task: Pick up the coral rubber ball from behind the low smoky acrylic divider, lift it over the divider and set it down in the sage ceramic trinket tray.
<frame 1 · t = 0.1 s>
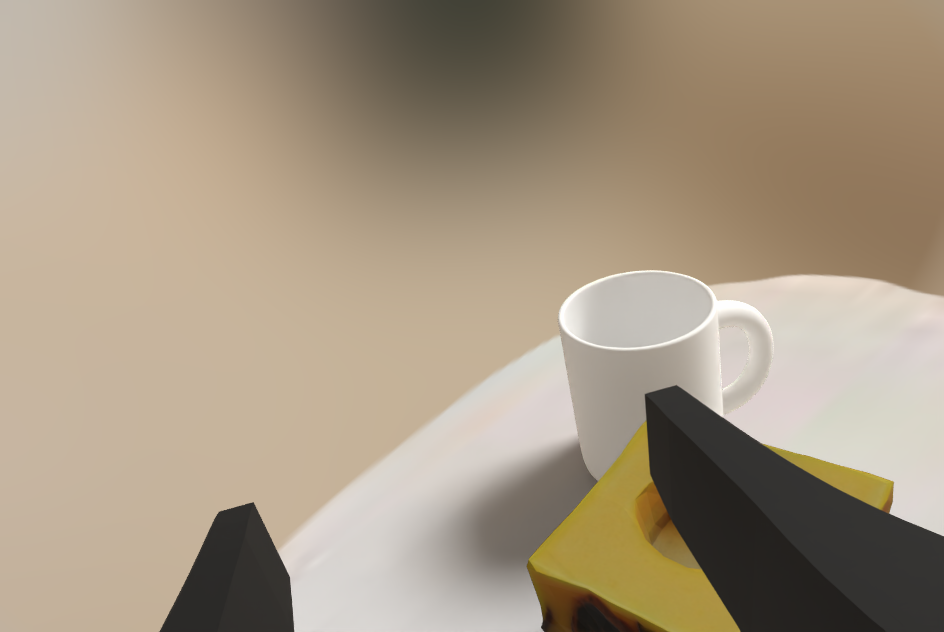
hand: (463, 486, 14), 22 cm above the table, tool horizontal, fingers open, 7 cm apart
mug: (681, 448, 45), on the table
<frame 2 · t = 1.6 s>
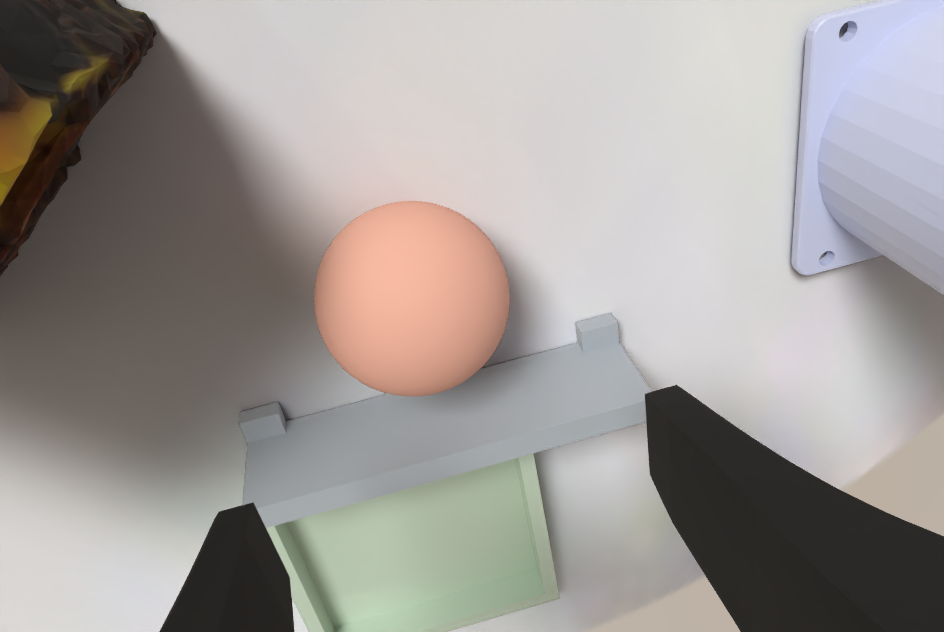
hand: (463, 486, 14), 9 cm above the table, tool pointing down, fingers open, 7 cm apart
tray: (412, 519, 27), on the table
ball: (412, 299, 19), point 2 cm above the table
divider: (436, 390, 24), on the table
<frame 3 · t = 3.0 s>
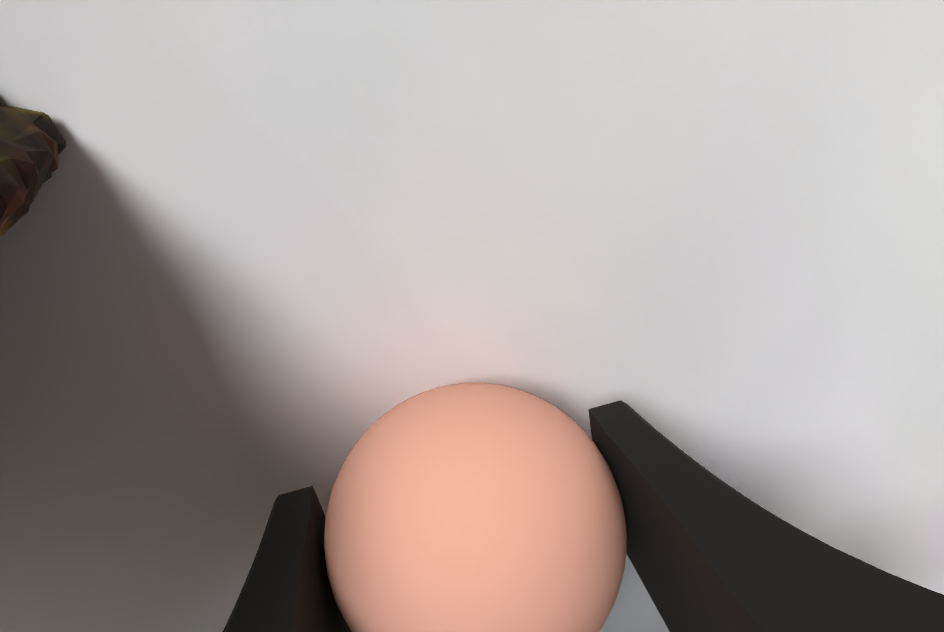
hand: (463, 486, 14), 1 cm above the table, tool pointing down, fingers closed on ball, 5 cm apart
ball: (475, 531, 13), point 2 cm above the table, touching gripper
divider: (490, 594, 17), on the table
when the fingers open (3 cm above the table, at t = 6.1 s): ball drops 2 cm, resting on tray.
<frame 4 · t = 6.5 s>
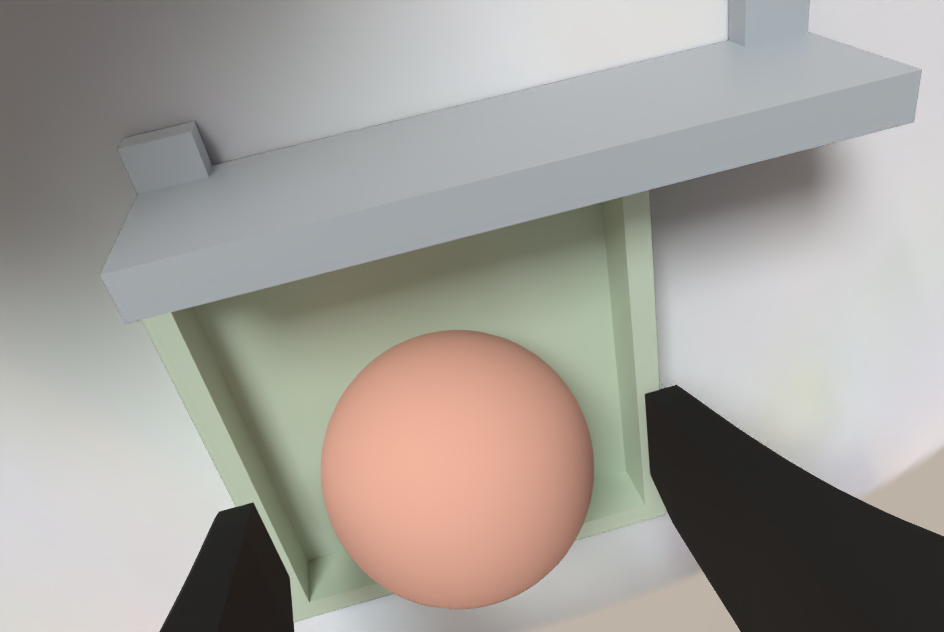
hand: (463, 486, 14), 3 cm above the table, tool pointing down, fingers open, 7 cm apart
tray: (433, 377, 16), on the table
ball: (457, 464, 14), point 3 cm above the table, touching tray
divider: (480, 122, 14), on the table
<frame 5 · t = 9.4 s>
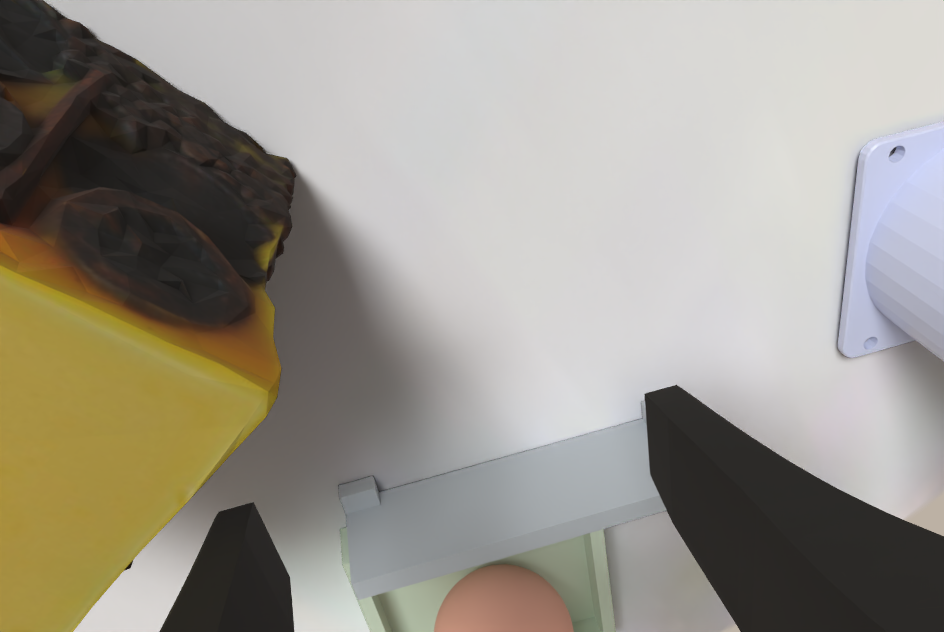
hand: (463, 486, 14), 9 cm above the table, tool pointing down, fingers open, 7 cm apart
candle: (15, 201, 19), on the table
tray: (484, 574, 29), on the table
divider: (513, 463, 26), on the table
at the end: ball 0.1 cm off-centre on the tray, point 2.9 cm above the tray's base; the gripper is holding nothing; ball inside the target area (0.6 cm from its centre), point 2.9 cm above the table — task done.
